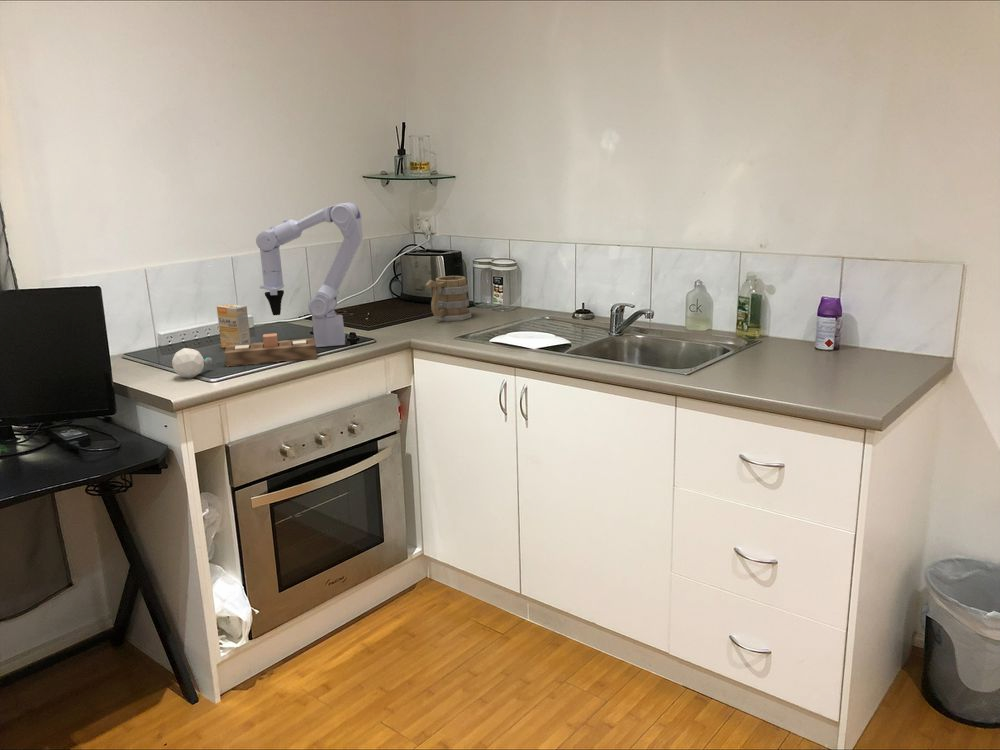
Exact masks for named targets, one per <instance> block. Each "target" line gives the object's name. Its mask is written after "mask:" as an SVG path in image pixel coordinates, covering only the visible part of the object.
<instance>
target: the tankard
mask: <svg viewBox="0 0 1000 750" xmlns="http://www.w3.org/2000/svg"><path fill="white" fill-rule="evenodd" d="M425 287H426V289H431V288H432V295H431V297H432V298H431V302H430V305H431V306H430V307H431V308H430V309H431V312H432V314H433V317H434V319H435V320H436V321H441V322H459V321H460V322H461V321H465V320H468V319H471V318H472V312H471V311H470V309H468V307H469V306H470V305H469V304H470V299H469V298H468V295H467V294H468V293H469V285H468V283H467V277H465V276H464V275H463V276H461V275H447V276H446V275H444V276H439V277H436V278H435V281H434V280H432V279H429V280H428V281H427V282H426V284H425Z"/></svg>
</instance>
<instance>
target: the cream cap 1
mask: <svg viewBox="0 0 1000 750" xmlns="http://www.w3.org/2000/svg"><path fill="white" fill-rule="evenodd" d="M242 349H250V348H249V345H239V346H235V350H242Z"/></svg>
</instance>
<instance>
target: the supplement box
mask: <svg viewBox="0 0 1000 750" xmlns="http://www.w3.org/2000/svg"><path fill="white" fill-rule="evenodd" d="M216 313H217V320H218V321H217V322H218V329H219V338H220V346H221V348H222V349H226V346H227V345H236V344H248V343H251V335H250V325H249V324H250V323H249V316H248V306H247V305H239V304H229V303H225V304H221V305H217V306H216Z"/></svg>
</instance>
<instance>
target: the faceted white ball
mask: <svg viewBox="0 0 1000 750" xmlns="http://www.w3.org/2000/svg"><path fill="white" fill-rule="evenodd" d="M171 363H172V368H173V370H174V372H175V373H176V375H178V376H180V377H182V378H188V379H189V378H191V379H192V378H194V377H196V376H197V375H200V374H201V372H202V371H203V369H204V367H205V366H208V365H211V364H213V359H212V357H206V358H205V359H204V358H203V355H202V354H201V353H200V351H199V350H196V349H195V348H194V349H193V348H185V347H183V348H181V349H180V350H177V352H175V353H174V355H173V358H172V360H171Z"/></svg>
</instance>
